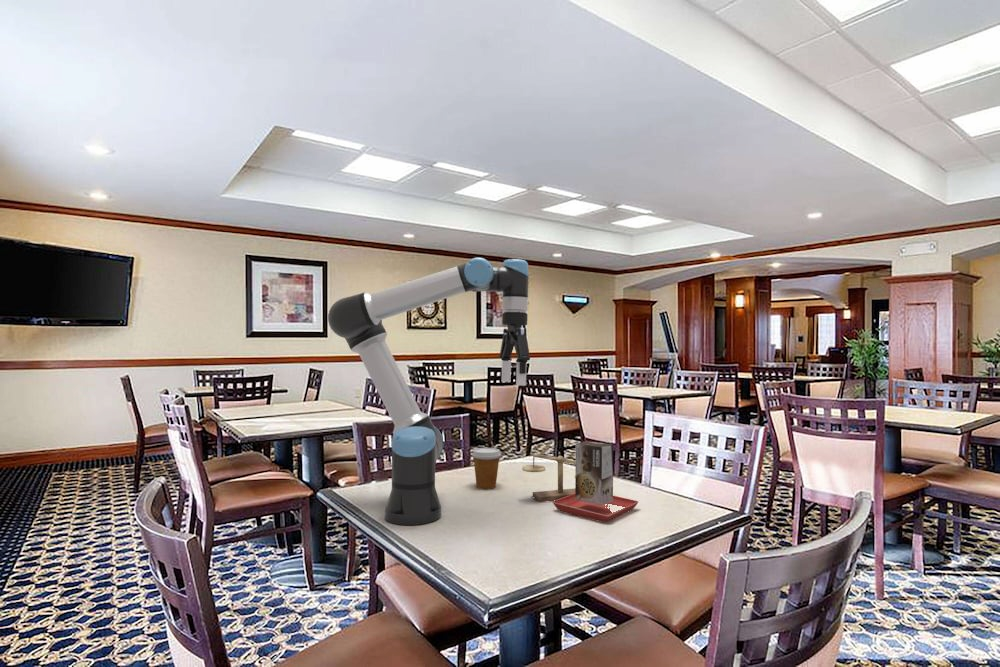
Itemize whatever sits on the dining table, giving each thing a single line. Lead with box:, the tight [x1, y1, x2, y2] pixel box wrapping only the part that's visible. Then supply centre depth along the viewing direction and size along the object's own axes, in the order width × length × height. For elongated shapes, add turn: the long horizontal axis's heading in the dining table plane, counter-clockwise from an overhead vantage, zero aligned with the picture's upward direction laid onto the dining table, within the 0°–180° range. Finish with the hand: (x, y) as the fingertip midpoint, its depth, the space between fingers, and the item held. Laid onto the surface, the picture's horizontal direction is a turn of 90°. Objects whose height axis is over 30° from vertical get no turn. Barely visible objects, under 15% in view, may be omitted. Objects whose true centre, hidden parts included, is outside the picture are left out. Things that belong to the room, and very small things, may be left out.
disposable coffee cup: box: [471, 447, 502, 490], centre depth 180 cm, size 10×10×12 cm
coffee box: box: [574, 440, 614, 505], centre depth 155 cm, size 9×6×16 cm
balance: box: [521, 453, 576, 503], centre depth 168 cm, size 25×7×14 cm, turn 108°
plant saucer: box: [552, 493, 639, 523], centre depth 155 cm, size 18×18×3 cm
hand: (513, 383), depth 162 cm, fingers open, 13 cm apart
